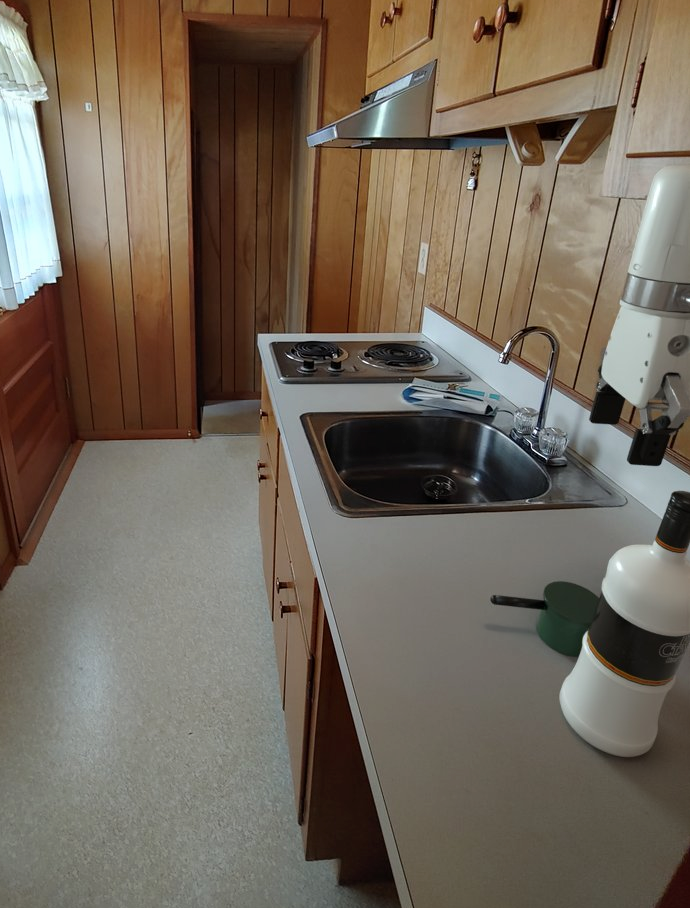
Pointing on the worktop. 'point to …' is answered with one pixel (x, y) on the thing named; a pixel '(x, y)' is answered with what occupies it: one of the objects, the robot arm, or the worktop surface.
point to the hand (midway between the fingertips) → (621, 442)
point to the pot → (559, 614)
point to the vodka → (634, 640)
